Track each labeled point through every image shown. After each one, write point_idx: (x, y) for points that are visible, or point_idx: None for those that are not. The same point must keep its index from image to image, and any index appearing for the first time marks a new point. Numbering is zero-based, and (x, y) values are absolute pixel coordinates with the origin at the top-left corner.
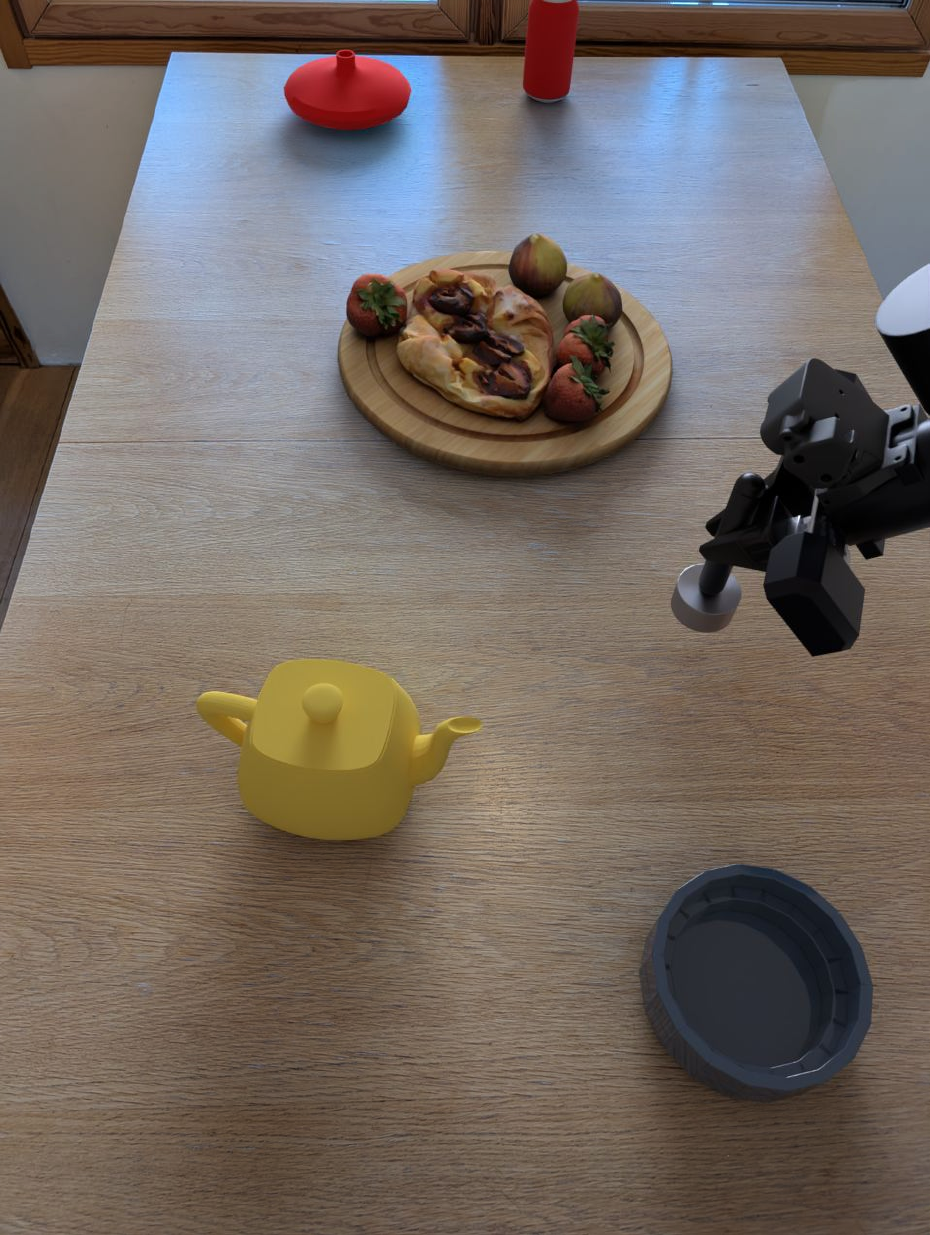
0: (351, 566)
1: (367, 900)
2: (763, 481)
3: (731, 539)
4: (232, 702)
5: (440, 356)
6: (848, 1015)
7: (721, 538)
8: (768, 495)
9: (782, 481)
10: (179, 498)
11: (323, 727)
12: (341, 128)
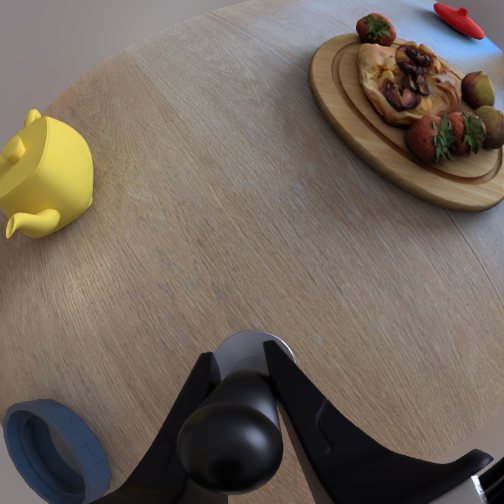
0: (202, 107)
1: (24, 250)
2: (244, 492)
3: (174, 416)
4: (27, 120)
5: (375, 57)
6: (67, 499)
7: (195, 391)
8: (307, 461)
9: (327, 500)
10: (201, 41)
11: (12, 161)
12: (446, 20)
